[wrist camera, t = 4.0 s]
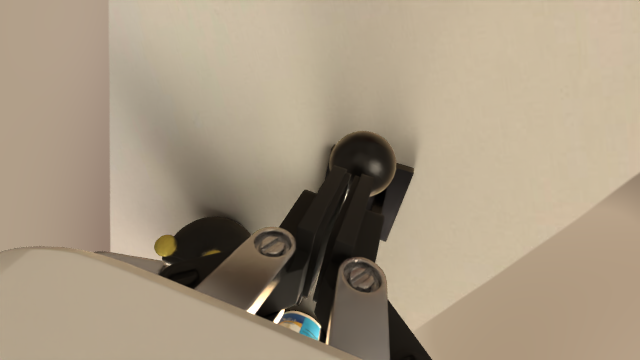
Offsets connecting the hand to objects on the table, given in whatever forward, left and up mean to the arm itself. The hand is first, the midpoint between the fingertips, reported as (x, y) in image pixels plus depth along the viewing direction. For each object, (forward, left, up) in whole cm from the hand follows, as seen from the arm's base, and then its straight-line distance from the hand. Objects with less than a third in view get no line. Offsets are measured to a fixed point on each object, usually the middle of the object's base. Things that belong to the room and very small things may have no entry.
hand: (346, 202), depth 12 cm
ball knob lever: (+3, +4, -8) cm, 9 cm away
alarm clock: (+29, +13, -20) cm, 38 cm away
